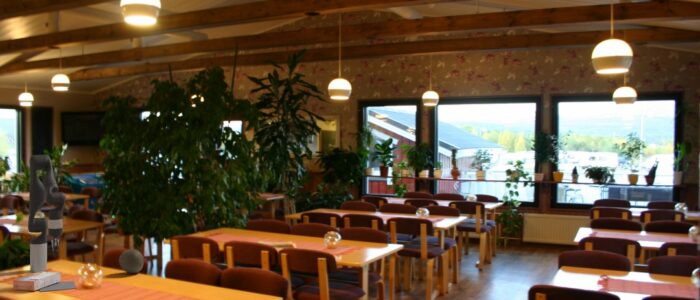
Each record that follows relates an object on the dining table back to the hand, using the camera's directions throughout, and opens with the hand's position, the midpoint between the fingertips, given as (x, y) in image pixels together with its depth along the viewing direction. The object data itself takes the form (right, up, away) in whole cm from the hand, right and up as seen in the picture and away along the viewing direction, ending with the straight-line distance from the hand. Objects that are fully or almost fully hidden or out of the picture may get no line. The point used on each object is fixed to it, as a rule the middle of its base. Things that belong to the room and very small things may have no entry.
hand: (55, 256), depth 344 cm
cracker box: (-3, -12, +1) cm, 12 cm away
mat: (+5, -15, -8) cm, 18 cm away
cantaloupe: (+34, -15, +27) cm, 46 cm away
